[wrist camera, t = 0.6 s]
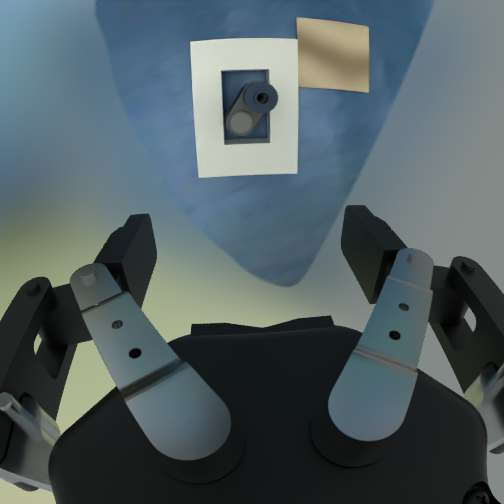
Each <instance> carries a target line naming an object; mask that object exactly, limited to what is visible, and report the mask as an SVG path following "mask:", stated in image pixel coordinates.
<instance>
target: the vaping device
mask: <svg viewBox="0 0 504 504" xmlns="http://www.w3.org/2000/svg"><path fill="white" fill-rule="evenodd" d="M277 102H278V93H277V91H276V89H275V88H274V87H273V86H272V85H270V84H268V83H266V82H252V83H249V84H246V85H245V86H244V87H243V88H242V89H241V91H240V92H239V94H238V95H237V97H236V98H235V100H234V102H233V103H232V105H231V106H230V108H229V109H228V111H227V112H226V115H227V117H226V115H225V119H224V125H225V128H226V129H227V130H228V132H230V133H231V134H232V135H235V136H240V137H242V136H246V135H248V134H249V133H251V131H252V130H253V128H254V127H255V125H256V124H257V122H258V121H259V119H260V117H261V116H262V114H263V113H268V112H270V111H271V110H273V109H274V108H275V106H276V105H277ZM227 113H228V114H227Z"/></svg>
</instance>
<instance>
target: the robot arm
mask: <svg viewBox="0 0 504 504" xmlns="http://www.w3.org/2000/svg"><path fill="white" fill-rule="evenodd" d="M341 249H342V252H343V255H344V256H345V258H346V260H347V262H348V264H349V266H350V267H351V269H352V271H353V273H354V275H355V276H356V279H357V281H358V282H359V284H360V286H361V288H362V290H363V292H364V294H365V296H366V298H367V300H368V302H369V304H376V305H375V307H374V310H373V312H372V314H371V316H370V319H369V321H368V323H367V325H366V328H365V330H364V332H363V333H361V332H359V331H357V330H354V329H351V328H347V327H343V326H336V325H334V323H333V320H332V318H331V315H330V316H321V317H310V318H298V319H294V320H291V321H287V322H284V323H280V324H276V325H273V326H269V327H264V328H260V327H252V326H245V325H237V324H230V323H210V324H192V326H191V334H190V335H185V336H182V337H179V338H177V339H175V340H172V341H170V342H169V343H166V341H165V340H164V339H163V338H162V336H161V335H160V334H159V333H158V331H157V330H156V329H155V327H154V326H153V325H152V324H151V322H150V321H149V320H148V318H147V317H146V316H145V314H144V313H143V312H142V310H141V307H142V304H143V301H144V298H145V294H146V291H147V288H148V285H149V282H150V279H151V276H152V273H153V270H154V267H155V264H156V259H157V250H156V244H155V239H154V234H153V228H152V223H151V218H150V215H149V214H136V215H130V217H129V218H128V220H127V221H126V223H125V225H124V226H123V227H119V228H118V229H117V230H116V231H114V232H113V233H112V234H111V235H110V236H109V238H108V240H107V242H106V243H105V244H104V246H103V248H102V249H101V251H100V252H99V254H98V256H97V257H96V259H95V261H94V262H93V263H92V264H88V265H85V266H83V267H81V268H79V269H78V270H76V271H75V272H74V273H73V274H72V276H71V278H70V283H69V284H66V285H62V286H58V287H54V288H52V286H51V283H50V281H49V280H48V278H46V277H37V278H33V279H31V280H29V281H28V282H26V283H25V284H24V285H23V286H22V287H21V288H20V289H19V291H18V292H17V294H16V296H15V297H14V299H13V300H12V302H11V304H10V305H9V307H8V309H7V310H6V312H5V314H4V316H3V317H2V319H1V321H0V478H2V479H4V480H5V481H7V482H10V483H12V484H14V485H16V486H18V487H19V488H21V489H23V490H26V491H35V490H37V489H39V488H41V489H45V490H48V491H52V492H53V494H54V497H55V500H56V504H501V503H500V502H498V501H497V500H496V498H495V497H494V496H493V494H492V493H491V490H490V488H489V485H488V478H487V463H486V462H487V452H488V451H489V452H491V453H494V454H500V453H503V452H504V294H503V293H502V292H501V290H500V289H499V288H498V287H497V285H496V284H495V283H494V282H493V280H492V279H491V278H490V277H489V276H488V274H487V273H486V272H485V271H484V270H483V268H482V267H481V266H480V265H479V264H478V263H477V262H475V261H473V260H472V259H470V258H467V257H462V256H457V257H455V258H453V260H452V263H451V265H450V268H447V267H441V266H434V262H433V260H432V258H431V257H430V256H429V255H428V254H426V253H425V252H423V251H420V250H418V249H413V248H407V247H406V245H405V244H404V243H403V242H402V240H401V239H400V238H399V237H398V236H397V235H396V234H395V232H394V231H393V230H391V228H390V227H389V226H388V224H387V223H386V222H385V221H383V220H381V219H380V218H378V217H376V216H374V215H373V214H372V213H371V212H370V211H369V209H367V207H366V206H365V205H348V206H347V207H346V209H345V214H344V221H343V229H342V236H341ZM468 307H470V309H471V310H472V312H473V313H474V315H475V317H476V328H475V330H474V332H472V330H471V328H470V327H469V325H468V323H467V322H466V320H465V319H464V316H465V313H466V312H467V310H468ZM428 322H429V323H430V325H431V327H432V329H433V331H434V333H435V335H436V336H437V338H438V340H439V342H440V344H441V346H442V348H443V350H444V352H445V354H446V356H447V358H448V360H449V362H450V365H451V367H452V368H453V371H454V373H455V375H456V377H457V380H458V381H459V384H460V386H461V388H462V391H463V393H464V398H463V397H461V396H460V395H458V394H457V393H455V392H454V391H452V390H451V389H449V388H447V387H446V386H444V385H443V384H441V383H440V382H438V381H436V380H435V379H433V378H432V377H430V376H429V375H427V374H426V373H424V372H423V371H421V370H420V369H418V368H417V366H418V362H419V358H420V353H421V350H422V346H423V341H424V337H425V332H426V328H427V323H428ZM37 334H39V335H40V337H41V338H42V341H41V343H40V346H39V348H38V351H37V353H36V355H35V352H34V341H35V339H36V336H37ZM90 340H93V341H94V343H95V345H96V347H97V349H98V351H99V353H100V355H101V357H102V359H103V361H104V363H105V365H106V367H107V369H108V371H109V373H110V375H111V377H112V378H113V380H114V382H115V384H116V387H115V388H114V389H112V390H111V391H110V392H109V393H108V394H107V395H106V396H105V397H103V398H102V399H101V400H100V401H99V402H98V403H97V404H96V405H94V406H93V407H92V408H91V409H90V410H89V411H88V412H86V413H85V414H84V415H83V416H82V417H81V418H80V419H78V420H77V421H76V422H75V423H74V424H73V425H72V426H71V427H69V428H68V429H67V430H66V431H65V432H64V433H63V434H62V435H61V436H60V430H59V427H58V425H57V423H56V422H55V421H56V417H57V413H58V409H59V405H60V401H61V397H62V394H63V390H64V386H65V383H66V379H67V376H68V373H69V369H70V366H71V363H72V360H73V357H74V353H75V350H76V347H77V344H78V343H81V342H85V341H90Z"/></svg>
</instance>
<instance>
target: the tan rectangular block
mask: <svg viewBox="0 0 504 504" xmlns="http://www.w3.org/2000/svg"><path fill="white" fill-rule="evenodd" d="M296 39H298V87H311V88H327V89H340V90H350V91H359V92H368V93H369V27H367V26H361V25H356V24H350V23H343V22H336V21H329V20H320V19H310V18H296Z"/></svg>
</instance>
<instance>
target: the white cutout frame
mask: <svg viewBox="0 0 504 504" xmlns="http://www.w3.org/2000/svg"><path fill="white" fill-rule="evenodd" d="M190 44H191V70H192V90H193V107H194V123H195V137H196V150H197V162H198V174H199V178H204V177H219V176H238V175H262V174H297V163H298V39H283V38H237V39H217V40H204V41H194V42H190ZM235 71H266V83H268V84H270V85H272V86H273V87H274V88H275V89H276V91H277V93H278V102H277V105H276V106H275V108H274V109H273V110H271V111H270V112H268V113H267V138H253V139H230V140H225V131H224V109H223V85H222V72H235Z"/></svg>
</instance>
